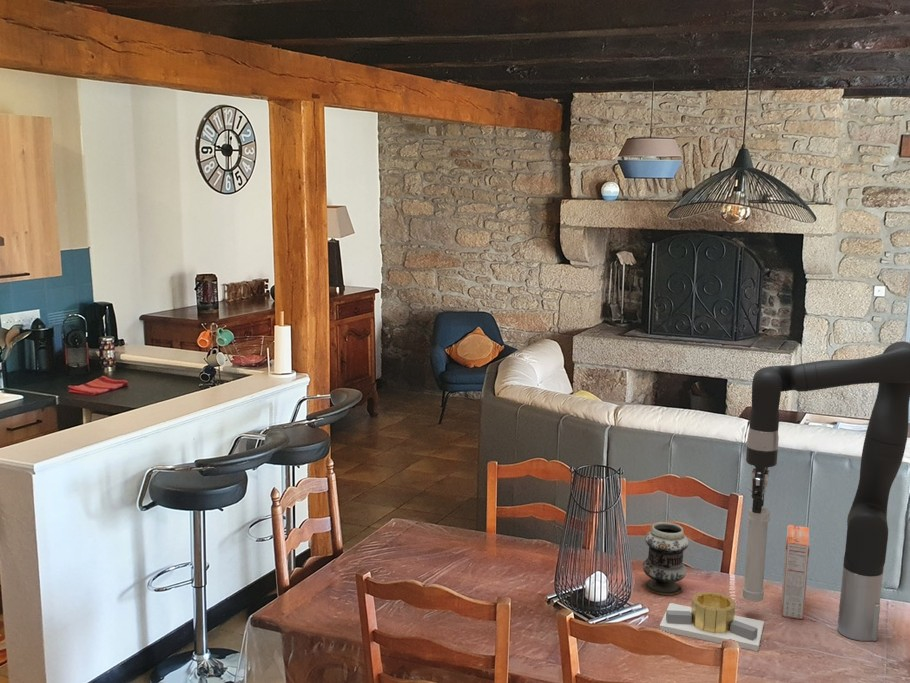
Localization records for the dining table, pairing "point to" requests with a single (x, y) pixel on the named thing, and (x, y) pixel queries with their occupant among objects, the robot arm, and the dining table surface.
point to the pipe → (755, 555)
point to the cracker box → (795, 572)
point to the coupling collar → (712, 612)
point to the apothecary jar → (665, 558)
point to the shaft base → (740, 631)
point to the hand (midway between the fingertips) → (757, 509)
